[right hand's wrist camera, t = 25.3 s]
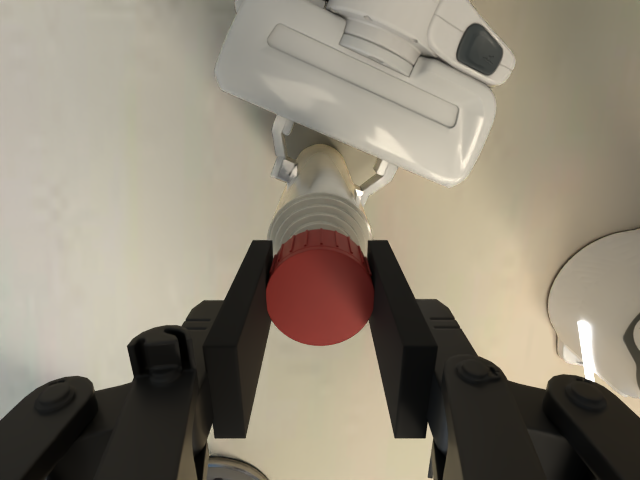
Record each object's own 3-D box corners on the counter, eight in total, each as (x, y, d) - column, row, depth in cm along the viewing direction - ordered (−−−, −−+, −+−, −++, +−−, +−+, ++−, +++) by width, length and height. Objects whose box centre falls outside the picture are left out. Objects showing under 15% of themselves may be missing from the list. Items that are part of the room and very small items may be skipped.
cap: (304, 330, 15) (302, 363, 13) (251, 258, 14) (240, 283, 12) (386, 288, 15) (396, 317, 13) (337, 208, 14) (340, 226, 12)
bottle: (347, 192, 36) (393, 343, 14) (297, 198, 37) (262, 355, 14) (343, 140, 35) (386, 217, 12) (290, 146, 35) (237, 232, 12)
